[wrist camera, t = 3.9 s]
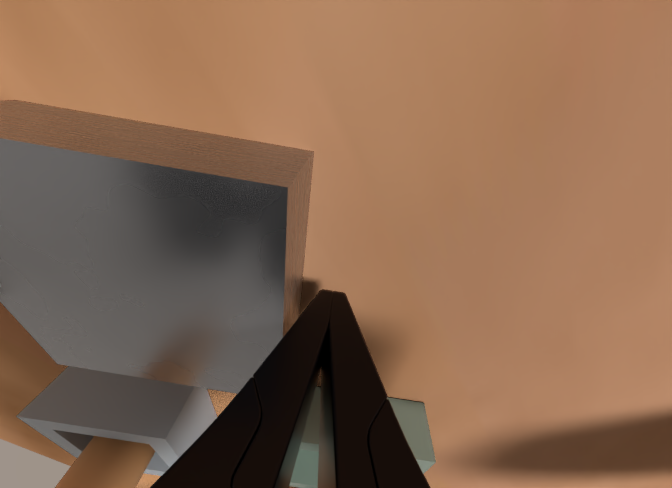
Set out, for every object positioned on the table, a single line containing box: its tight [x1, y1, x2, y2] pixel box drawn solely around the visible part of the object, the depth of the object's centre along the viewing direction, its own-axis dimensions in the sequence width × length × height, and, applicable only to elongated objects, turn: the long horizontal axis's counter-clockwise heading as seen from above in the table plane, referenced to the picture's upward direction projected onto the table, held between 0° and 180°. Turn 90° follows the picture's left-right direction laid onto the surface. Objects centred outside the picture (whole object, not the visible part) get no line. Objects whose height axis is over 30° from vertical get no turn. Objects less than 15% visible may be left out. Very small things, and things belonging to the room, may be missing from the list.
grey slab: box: [0, 100, 314, 394], centre depth 8 cm, size 8×8×3 cm
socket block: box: [16, 366, 217, 476], centre depth 14 cm, size 7×7×3 cm
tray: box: [289, 387, 436, 488], centre depth 14 cm, size 8×8×2 cm
